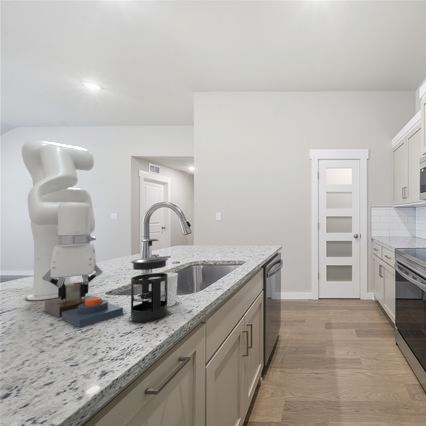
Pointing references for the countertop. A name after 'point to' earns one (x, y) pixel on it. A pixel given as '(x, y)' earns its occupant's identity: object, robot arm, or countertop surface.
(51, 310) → the panel
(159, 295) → the french press
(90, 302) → the release button
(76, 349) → the countertop surface
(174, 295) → the white cup
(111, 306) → the button block
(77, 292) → the lock knob
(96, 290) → the countertop surface
